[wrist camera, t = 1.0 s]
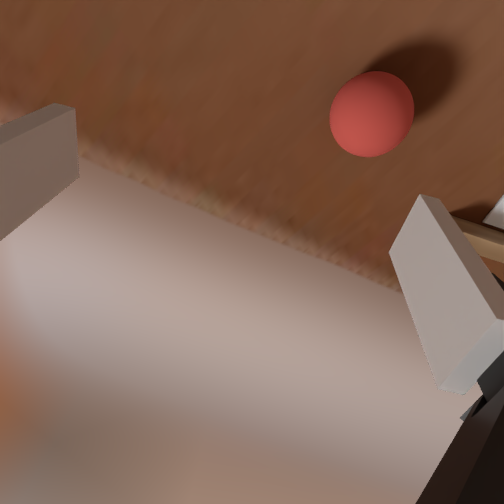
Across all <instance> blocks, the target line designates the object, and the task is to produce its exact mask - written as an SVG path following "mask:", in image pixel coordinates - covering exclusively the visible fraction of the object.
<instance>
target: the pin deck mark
mask: <svg viewBox="0 0 504 504" xmlns="http://www.w3.org/2000/svg"><path fill="white" fill-rule="evenodd" d="M483 223H486V224H489V225H492V226H495V227H498V228H501V229H504V195H503V196H502V198H501V199H500V200H499V201H498V203H497V204H496V205H495V206H494V208H493V209H492V210H491V211H490V213H489V214H488V215H487V216H486V218H485V219H484V220H483Z"/></svg>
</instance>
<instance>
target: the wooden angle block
mask: <svg viewBox="0 0 504 504" xmlns="http://www.w3.org/2000/svg"><path fill="white" fill-rule="evenodd" d="M451 217H452V218H453V219H454V221H455V222H456V224H457V225H458V227H459V228H460V229H461V231H462V232H463V234H464V235H465V236H466V238H467V239H468V241H469V242H470V244H471V245H472V246H473V248H474V249H475V251H476V252H477V254H478V255H480V256H483V257H486V258H489V259H492V260H495V261H498V262H501V263H504V233H502V232H500V231H497V230H494V229H491V228H488V227H485V226H482V225H479V224H476V223H473V222H470V221H467V220H464V219H461V218H458V217H455V216H452V215H451Z"/></svg>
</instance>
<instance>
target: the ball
mask: <svg viewBox="0 0 504 504" xmlns="http://www.w3.org/2000/svg"><path fill="white" fill-rule="evenodd" d="M413 118H414V102H413V97H412V95H411V92H410V90H409V89H408V87H407V86H406V84H405V83H404V82H403V81H402V80H401V79H399V78H398V77H396V76H394V75H392V74H390V73H387V72H382V71H371V72H366V73H362V74H360V75H357V76H355V77H354V78H352V79H351V80H349V81H348V82H347V83H346V84H345V85H344V86H343V87H342V88H341V89H340V90H339V92H338V93H337V95H336V96H335V98H334V100H333V103H332V106H331V110H330V127H331V131H332V134H333V136H334V138H335V140H336V141H337V143H338V144H339V145H340V146H341V147H342V148H343V149H345V150H346V151H348V152H349V153H351V154H354V155H357V156H362V157H374V156H379V155H382V154H385V153H387V152H389V151H390V150H392V149H394V148H395V147H396V146H397V145H398V144H399V143H400V142H401V141H402V140H403V139H404V138H405V137H406V135H407V133H408V132H409V130H410V127H411V125H412V122H413Z"/></svg>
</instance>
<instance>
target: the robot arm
mask: <svg viewBox="0 0 504 504" xmlns="http://www.w3.org/2000/svg"><path fill="white" fill-rule="evenodd" d="M77 178H79V164H78V147H77V131H76V114H75V108H73V107H69V106H65V105H61V104H57V103H53V104H51V105H48V106H46V107H44V108H41V109H39V110H37V111H34V112H32V113H29V114H27V115H25V116H22V117H20V118H18V119H15V120H13V121H11V122H8V123H6V124H4V125H1V126H0V241H1V240H2V239H3V238H5V237H6V236H7V235H8V234H10V233H11V232H12V231H13V230H14V229H16V228H17V227H18V226H19V225H20V224H22V223H23V222H24V221H25V220H27V219H28V218H29V217H31V216H32V215H33V214H34V213H35V212H36V211H38V210H39V209H40V208H42V207H43V206H44V205H45V204H46V203H48V202H49V201H50V200H51V199H53V198H54V197H55V196H56V195H58V194H59V193H60V192H61V191H63V190H64V189H65V188H66V187H68V186H69V185H70V184H71V183H72V182H74V181H75V180H76V179H77ZM389 254H390V257H391V259H392V262H393V265H394V268H395V271H396V274H397V276H398V279H399V282H400V285H401V288H402V291H403V293H404V296H405V299H406V302H407V305H408V307H409V310H410V313H411V316H412V319H413V322H414V324H415V327H416V330H417V333H418V336H419V338H420V341H421V344H422V347H423V350H424V353H425V355H426V358H427V361H428V364H429V366H430V369H431V372H432V375H433V378H434V381H435V384H436V386H437V389H440V390H444V391H449V392H453V393H457V394H461V395H465V394H466V393H467V392H468V390H469V389H470V388H471V387H472V386H473V385H474V384H475V383H476V382H478V384H479V385H480V388H481V390H482V392H483V395H482V396H481V397H480V398H479V399H478V400H477V401H476V402H475V403H474V404H473V405H472V406H471V407H470V408H469V409H468V410H467V411H466V412H465V413H464V414H463V415H462V416H461V417H460V418H461V419H462V420H463V421H464V422H463V424H462V426H461V427H460V429H459V431H458V432H457V434H456V436H455V438H454V439H453V441H452V443H451V444H450V446H449V448H448V450H447V451H446V453H445V454H444V456H443V458H442V460H441V461H440V463H439V465H438V466H437V468H436V470H435V472H434V473H433V475H432V477H431V478H430V480H429V482H428V484H427V485H426V487H425V489H424V491H423V492H422V494H421V495H420V497H419V499H418V501H417V502H416V504H504V282H503V281H501V280H500V279H499V278H498V277H497V276H496V275H494V274H493V273H491V272H490V271H489V269H488V268H487V266H486V265H485V264H484V262H483V261H482V259H481V258H480V256H479V255H478V254H477V252H476V251H475V249H474V248H473V246H472V245H471V244H470V242H469V241H468V239H467V238H466V236H465V235H464V234H463V232H462V231H461V229H460V228H459V227H458V225H457V224H456V222H455V221H454V219H453V218H452V217H451V215H450V214H449V212H448V211H447V209H446V208H445V207H444V205H443V204H442V202H441V201H440V199H438V198H434V197H430V196H426V195H422V194H419V196H418V198H417V200H416V202H415V204H414V206H413V208H412V209H411V211H410V213H409V215H408V217H407V219H406V221H405V223H404V225H403V226H402V228H401V230H400V232H399V234H398V236H397V238H396V240H395V242H394V243H393V245H392V247H391V249H390V251H389Z"/></svg>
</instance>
